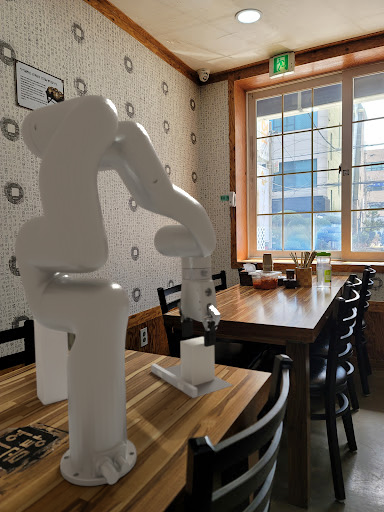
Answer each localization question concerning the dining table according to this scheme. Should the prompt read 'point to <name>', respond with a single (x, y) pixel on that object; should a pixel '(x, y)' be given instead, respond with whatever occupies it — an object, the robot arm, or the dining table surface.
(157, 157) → the robot arm
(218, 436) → the dining table surface
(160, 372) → the shelf board
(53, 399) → the milk
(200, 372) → the carton
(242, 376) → the dining table surface
